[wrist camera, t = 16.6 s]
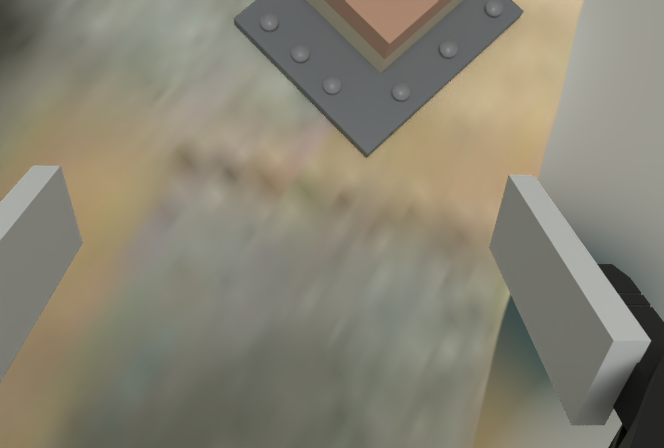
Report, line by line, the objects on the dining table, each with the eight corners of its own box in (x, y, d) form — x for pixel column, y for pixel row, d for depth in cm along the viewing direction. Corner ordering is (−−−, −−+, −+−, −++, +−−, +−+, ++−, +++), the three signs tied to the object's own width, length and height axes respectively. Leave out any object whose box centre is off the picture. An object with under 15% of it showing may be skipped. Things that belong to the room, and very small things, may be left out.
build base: (235, 24, 47) (225, -18, 42) (391, -103, 51) (402, -159, 45) (366, 157, 46) (375, 133, 40) (519, 17, 49) (548, -25, 43)
